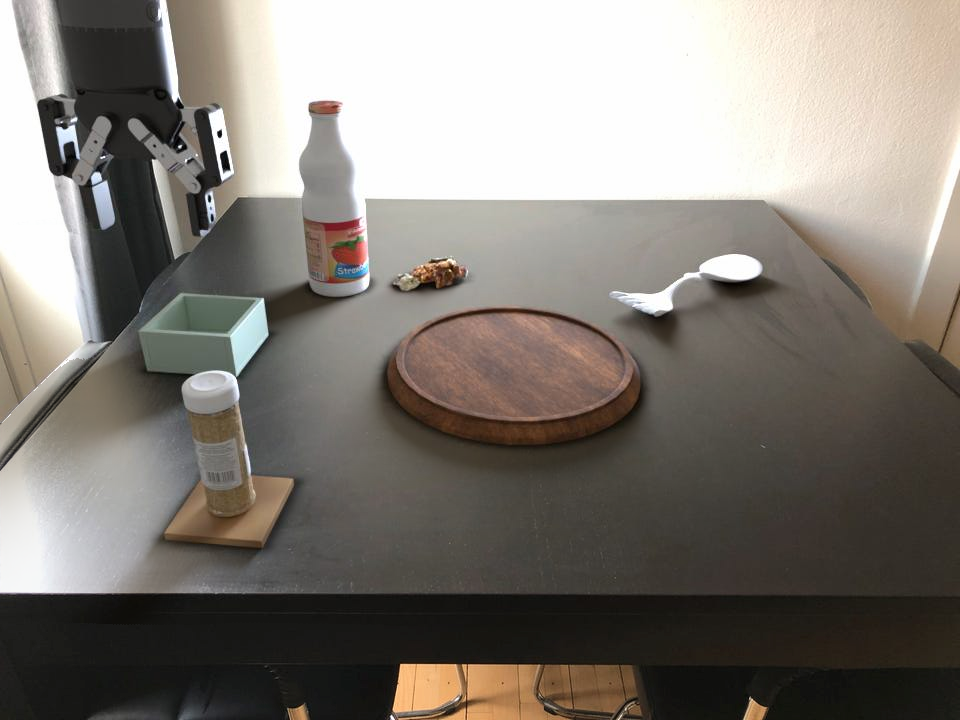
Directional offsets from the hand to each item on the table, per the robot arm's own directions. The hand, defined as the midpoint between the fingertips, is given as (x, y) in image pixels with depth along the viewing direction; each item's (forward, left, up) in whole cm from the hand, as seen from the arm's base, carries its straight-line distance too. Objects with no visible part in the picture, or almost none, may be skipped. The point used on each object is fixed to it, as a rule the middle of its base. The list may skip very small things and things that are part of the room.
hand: (153, 230), depth 62 cm
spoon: (+57, +54, -26) cm, 83 cm away
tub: (-10, +25, -26) cm, 38 cm away
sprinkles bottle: (+5, -4, -25) cm, 26 cm away
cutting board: (+30, +25, -26) cm, 47 cm away
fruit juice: (+1, +49, -26) cm, 56 cm away
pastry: (+15, +53, -26) cm, 62 cm away
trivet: (+5, -5, -26) cm, 27 cm away
